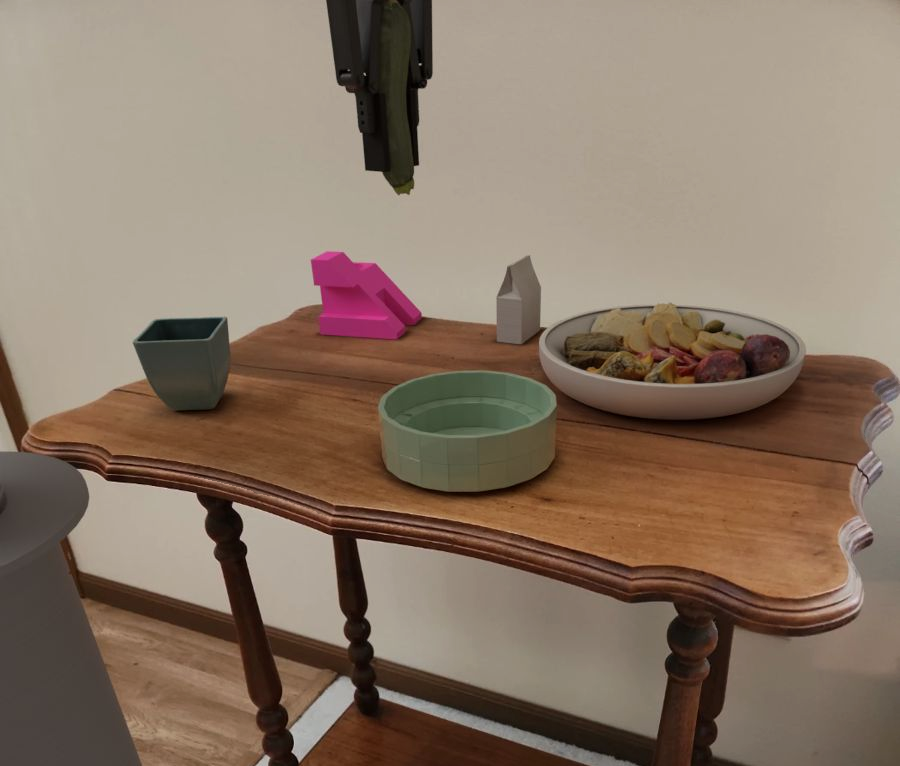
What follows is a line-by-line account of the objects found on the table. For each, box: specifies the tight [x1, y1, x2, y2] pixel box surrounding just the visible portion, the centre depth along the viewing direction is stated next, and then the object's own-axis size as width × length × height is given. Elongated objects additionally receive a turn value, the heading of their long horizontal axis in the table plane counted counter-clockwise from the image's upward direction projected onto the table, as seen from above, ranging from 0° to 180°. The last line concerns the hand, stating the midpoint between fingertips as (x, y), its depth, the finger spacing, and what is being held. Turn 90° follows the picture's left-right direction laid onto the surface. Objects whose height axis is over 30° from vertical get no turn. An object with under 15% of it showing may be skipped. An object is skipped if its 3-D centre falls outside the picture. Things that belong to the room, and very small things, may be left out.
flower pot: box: [132, 316, 231, 411], centre depth 94 cm, size 9×9×9 cm
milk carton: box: [495, 254, 542, 345], centre depth 111 cm, size 4×7×10 cm, turn 153°
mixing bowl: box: [377, 369, 558, 493], centre depth 80 cm, size 17×17×6 cm
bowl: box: [538, 302, 807, 421], centre depth 95 cm, size 30×30×8 cm
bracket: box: [310, 250, 423, 340], centre depth 117 cm, size 12×10×10 cm
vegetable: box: [376, 0, 415, 196], centre depth 77 cm, size 4×4×20 cm
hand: (392, 167), depth 81 cm, fingers closed on vegetable, 4 cm apart
